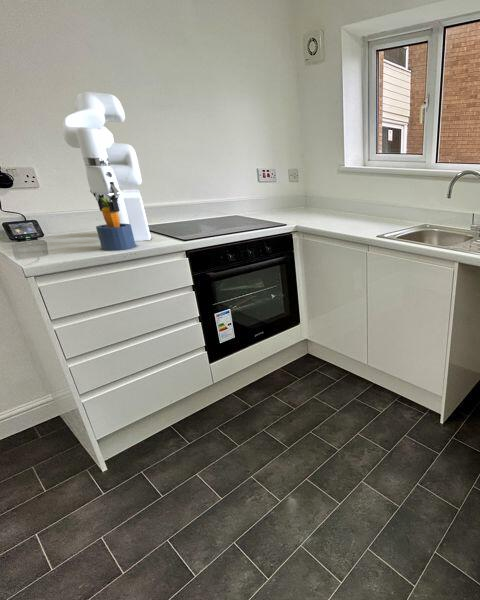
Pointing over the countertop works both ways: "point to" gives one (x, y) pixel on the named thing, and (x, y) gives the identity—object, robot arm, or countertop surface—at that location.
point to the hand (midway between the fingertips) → (109, 210)
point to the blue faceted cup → (116, 237)
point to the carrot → (110, 215)
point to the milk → (136, 215)
